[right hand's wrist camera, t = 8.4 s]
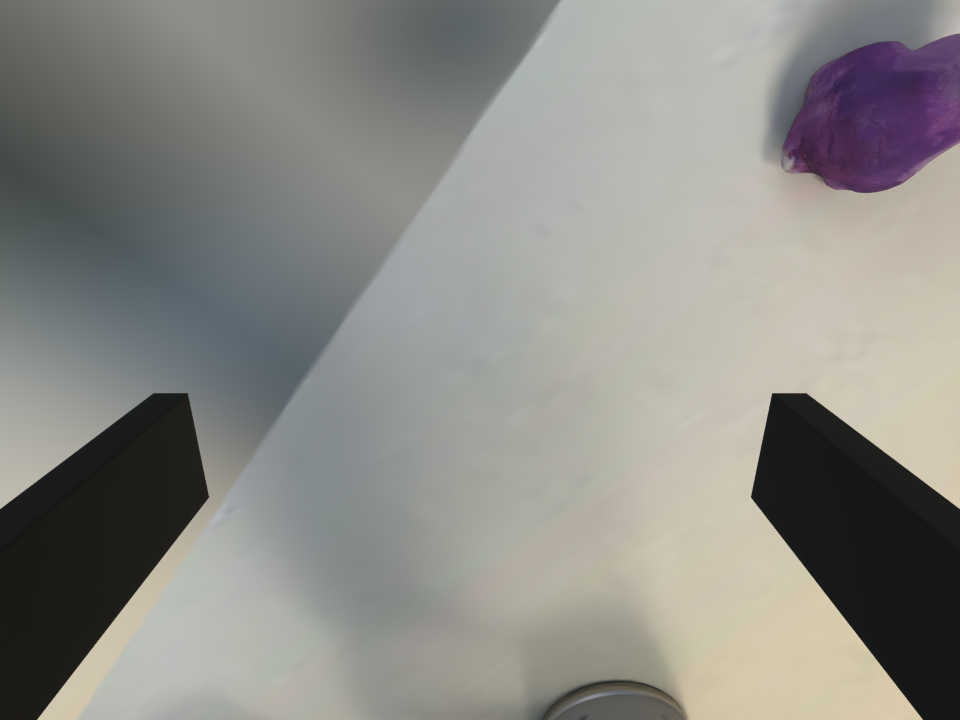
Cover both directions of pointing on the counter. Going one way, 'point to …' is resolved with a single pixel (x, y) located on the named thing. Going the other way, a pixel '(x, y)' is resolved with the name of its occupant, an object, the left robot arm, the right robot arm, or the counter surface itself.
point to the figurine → (877, 115)
